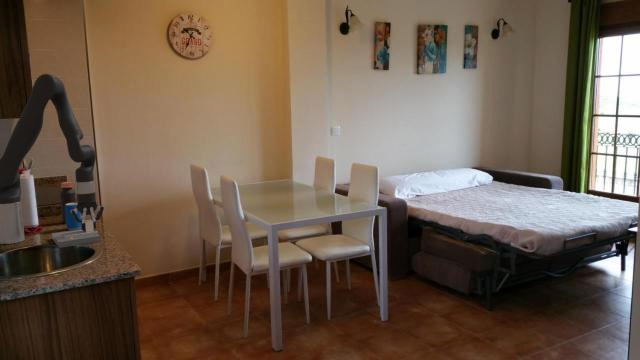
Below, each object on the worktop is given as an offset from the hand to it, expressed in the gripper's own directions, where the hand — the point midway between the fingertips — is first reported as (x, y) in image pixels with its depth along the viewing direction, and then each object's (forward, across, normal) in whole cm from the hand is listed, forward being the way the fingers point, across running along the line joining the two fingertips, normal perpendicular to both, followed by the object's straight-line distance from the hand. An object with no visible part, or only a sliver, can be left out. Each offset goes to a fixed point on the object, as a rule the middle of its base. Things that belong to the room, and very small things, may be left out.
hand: (89, 230), depth 226 cm
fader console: (+4, -5, +1) cm, 7 cm away
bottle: (+4, -1, +40) cm, 40 cm away
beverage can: (+4, -2, +24) cm, 24 cm away
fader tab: (+1, 0, 0) cm, 1 cm away
